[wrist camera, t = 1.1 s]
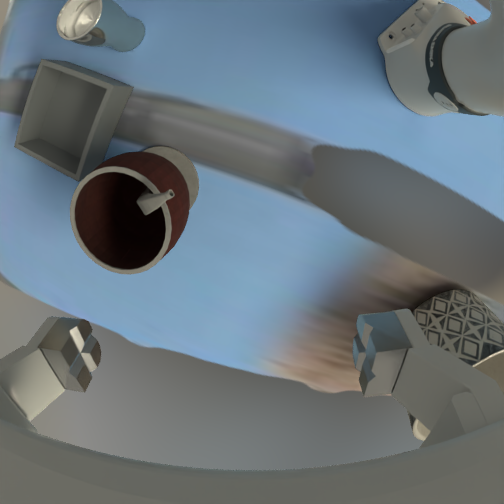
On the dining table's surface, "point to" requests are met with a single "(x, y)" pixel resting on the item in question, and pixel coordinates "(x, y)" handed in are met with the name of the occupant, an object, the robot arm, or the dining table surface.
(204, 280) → the dining table surface
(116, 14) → the beer glass
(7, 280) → the dining table surface
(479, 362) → the planter
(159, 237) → the mate gourd
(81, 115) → the bin
